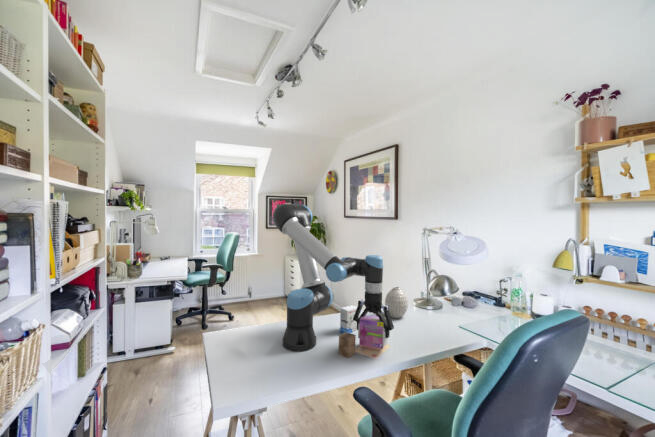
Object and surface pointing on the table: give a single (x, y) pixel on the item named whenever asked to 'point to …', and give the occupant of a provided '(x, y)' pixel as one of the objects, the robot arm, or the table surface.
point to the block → (347, 344)
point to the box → (371, 332)
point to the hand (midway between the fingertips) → (372, 340)
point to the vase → (396, 302)
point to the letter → (371, 351)
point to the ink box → (348, 319)
